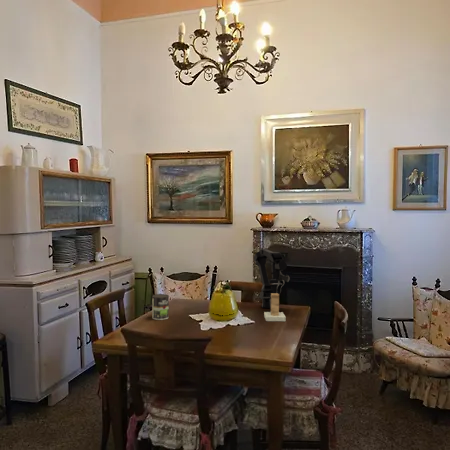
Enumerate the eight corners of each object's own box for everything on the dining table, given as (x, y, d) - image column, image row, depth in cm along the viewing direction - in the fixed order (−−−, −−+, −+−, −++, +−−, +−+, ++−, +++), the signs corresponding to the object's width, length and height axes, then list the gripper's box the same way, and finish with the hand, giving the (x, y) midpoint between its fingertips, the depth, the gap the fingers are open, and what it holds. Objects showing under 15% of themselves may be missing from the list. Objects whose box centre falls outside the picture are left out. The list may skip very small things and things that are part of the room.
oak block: (270, 313, 274) (271, 293, 273) (277, 313, 274) (278, 293, 273) (271, 315, 269) (271, 295, 268) (278, 315, 269) (279, 295, 269)
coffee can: (171, 318, 270) (171, 296, 269) (156, 321, 264) (156, 298, 263) (163, 314, 278) (163, 293, 277) (149, 317, 272) (149, 295, 271)
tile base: (264, 315, 278) (264, 312, 277) (282, 316, 278) (282, 312, 278) (266, 321, 266) (266, 317, 265) (285, 321, 266) (285, 317, 266)
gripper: (285, 269, 274) (286, 294, 271) (291, 271, 291) (292, 294, 288) (268, 270, 277) (269, 295, 275) (275, 272, 295) (276, 295, 292)
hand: (277, 295), depth 282 cm, fingers open, 9 cm apart
